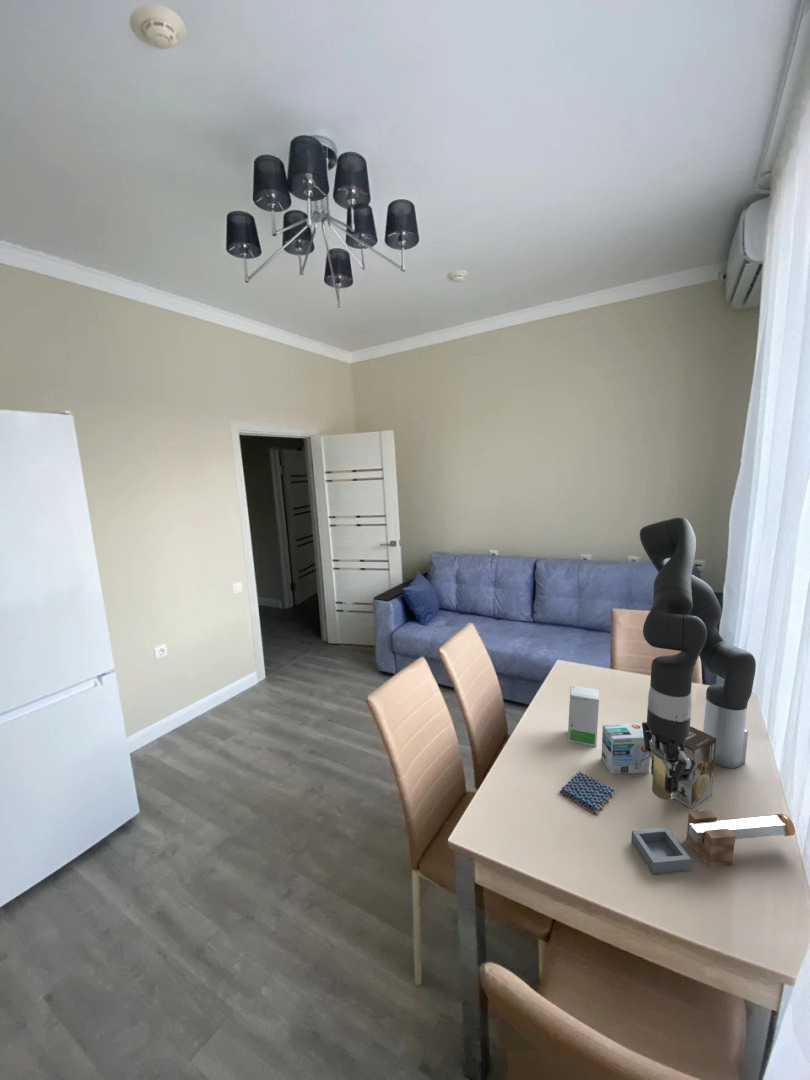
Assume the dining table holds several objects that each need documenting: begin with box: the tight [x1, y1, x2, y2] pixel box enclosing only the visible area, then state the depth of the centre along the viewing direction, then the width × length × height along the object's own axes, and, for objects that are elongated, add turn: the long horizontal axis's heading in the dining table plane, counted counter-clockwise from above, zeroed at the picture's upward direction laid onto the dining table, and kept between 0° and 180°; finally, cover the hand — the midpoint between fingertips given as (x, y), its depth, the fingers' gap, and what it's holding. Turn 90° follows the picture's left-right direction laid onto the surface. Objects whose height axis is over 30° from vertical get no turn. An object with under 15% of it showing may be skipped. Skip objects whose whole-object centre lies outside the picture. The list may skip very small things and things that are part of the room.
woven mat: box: [559, 771, 615, 815], centre depth 113 cm, size 10×11×2 cm
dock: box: [630, 826, 692, 876], centre depth 95 cm, size 8×8×3 cm
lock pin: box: [689, 813, 796, 843], centre depth 95 cm, size 21×4×4 cm, turn 93°
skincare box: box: [567, 684, 600, 748], centre depth 134 cm, size 8×7×16 cm
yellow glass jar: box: [651, 746, 678, 801], centre depth 91 cm, size 5×5×10 cm
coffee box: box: [673, 725, 716, 809], centre depth 110 cm, size 9×6×16 cm
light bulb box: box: [600, 722, 652, 775], centre depth 122 cm, size 11×7×11 cm, turn 90°
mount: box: [686, 809, 736, 868], centre depth 95 cm, size 5×7×7 cm
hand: (663, 783), depth 92 cm, fingers closed on yellow glass jar, 4 cm apart
